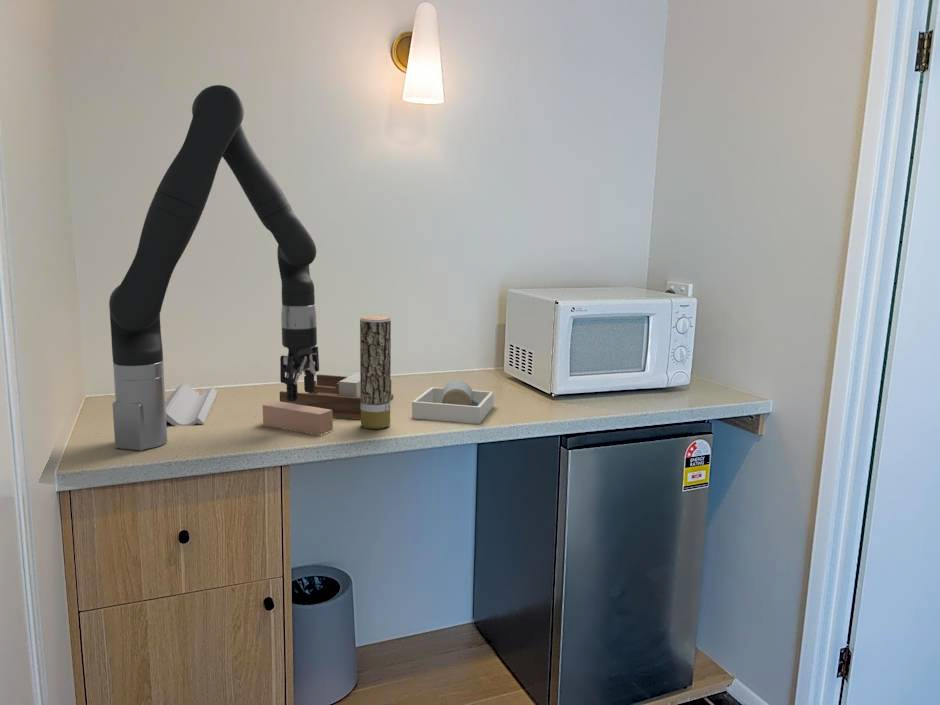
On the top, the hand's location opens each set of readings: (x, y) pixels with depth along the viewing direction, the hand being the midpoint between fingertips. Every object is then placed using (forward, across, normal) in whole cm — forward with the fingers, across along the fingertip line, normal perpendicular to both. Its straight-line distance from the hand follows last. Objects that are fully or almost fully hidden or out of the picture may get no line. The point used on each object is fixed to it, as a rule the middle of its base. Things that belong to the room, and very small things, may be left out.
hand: (301, 396), depth 162 cm
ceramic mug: (+8, +23, -32) cm, 40 cm away
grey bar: (+4, +21, -6) cm, 22 cm away
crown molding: (+8, +6, +34) cm, 36 cm away
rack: (+7, +21, 0) cm, 22 cm away
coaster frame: (+8, +23, -30) cm, 38 cm away
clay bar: (+7, -1, +1) cm, 7 cm away
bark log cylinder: (+8, +6, -16) cm, 18 cm away
